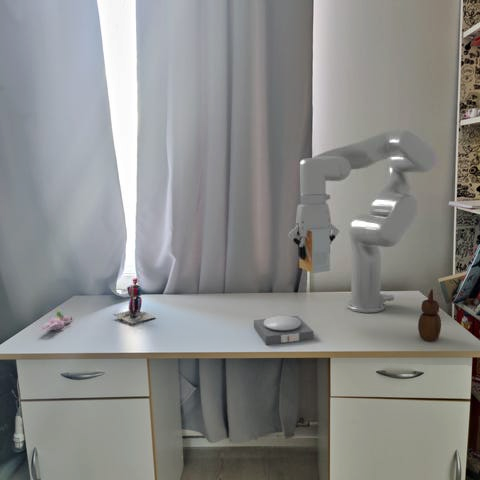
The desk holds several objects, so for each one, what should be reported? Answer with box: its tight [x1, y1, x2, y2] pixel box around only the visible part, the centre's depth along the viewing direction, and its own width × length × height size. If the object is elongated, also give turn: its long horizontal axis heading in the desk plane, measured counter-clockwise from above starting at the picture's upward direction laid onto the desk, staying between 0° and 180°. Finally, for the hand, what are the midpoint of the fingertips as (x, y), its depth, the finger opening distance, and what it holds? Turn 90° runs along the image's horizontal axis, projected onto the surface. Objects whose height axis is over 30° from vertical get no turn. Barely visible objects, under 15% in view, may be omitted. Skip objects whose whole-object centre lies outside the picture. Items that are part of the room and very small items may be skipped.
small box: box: [298, 228, 331, 274], centre depth 150 cm, size 8×6×13 cm
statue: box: [112, 277, 156, 326], centre depth 162 cm, size 11×9×15 cm
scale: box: [253, 315, 314, 346], centre depth 145 cm, size 14×15×4 cm
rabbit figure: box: [41, 310, 74, 331], centre depth 156 cm, size 6×6×15 cm
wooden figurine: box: [417, 288, 442, 342], centre depth 137 cm, size 7×6×15 cm
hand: (314, 257), depth 151 cm, fingers closed on small box, 7 cm apart
